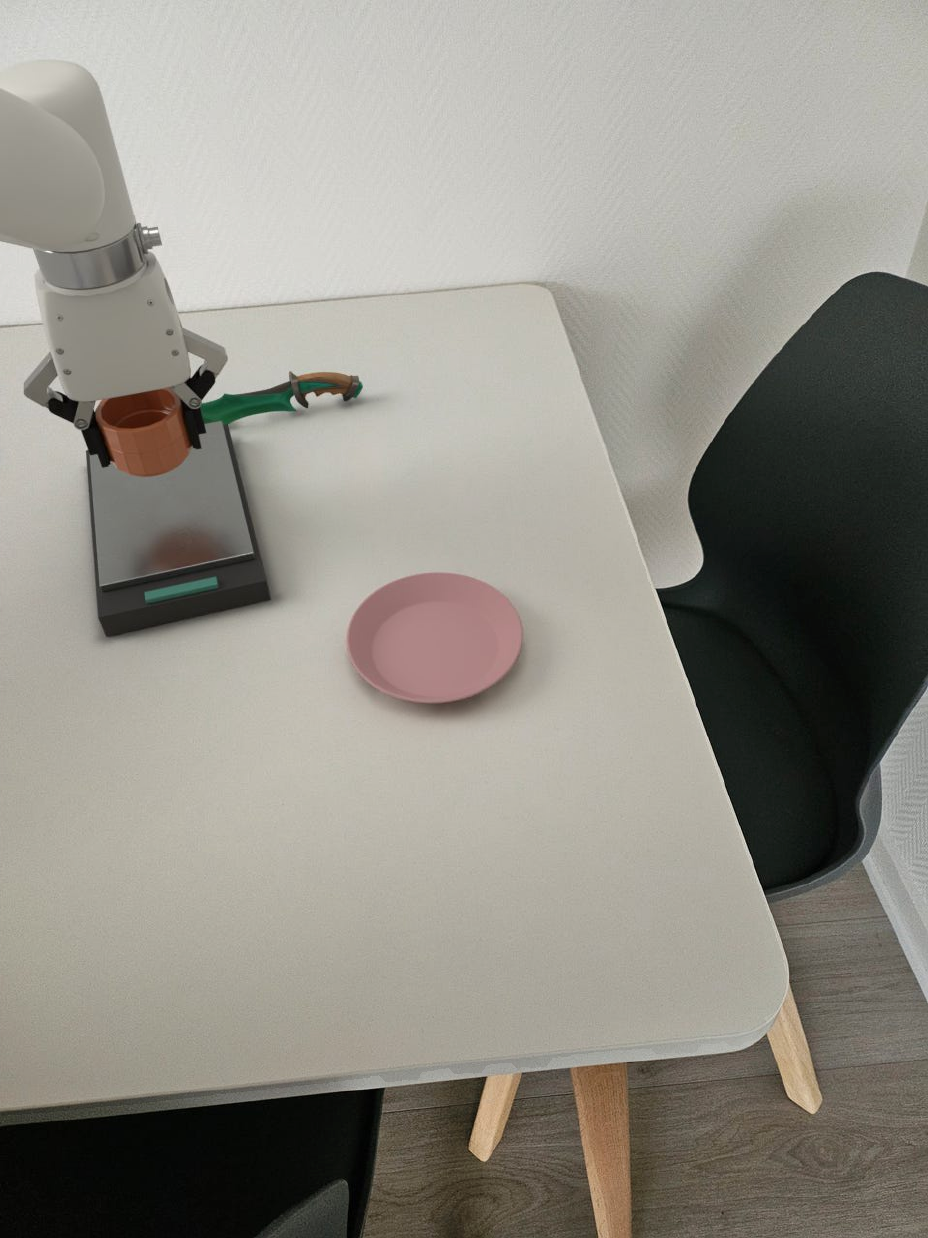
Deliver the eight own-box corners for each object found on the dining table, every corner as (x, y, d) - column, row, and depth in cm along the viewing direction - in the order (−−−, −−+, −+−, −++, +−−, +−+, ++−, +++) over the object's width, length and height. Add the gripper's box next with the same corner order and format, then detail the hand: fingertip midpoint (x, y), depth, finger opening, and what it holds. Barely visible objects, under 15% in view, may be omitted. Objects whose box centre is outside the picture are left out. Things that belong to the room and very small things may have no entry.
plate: (319, 690, 78) (316, 674, 77) (390, 572, 88) (388, 556, 86) (489, 738, 75) (489, 722, 73) (544, 610, 84) (544, 594, 83)
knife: (361, 394, 107) (357, 354, 103) (365, 403, 106) (361, 362, 102) (163, 434, 103) (151, 393, 99) (165, 444, 101) (153, 403, 98)
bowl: (114, 487, 83) (97, 438, 79) (109, 440, 88) (93, 392, 84) (198, 470, 84) (185, 422, 81) (189, 424, 89) (176, 376, 85)
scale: (106, 637, 83) (95, 610, 81) (92, 469, 99) (83, 443, 96) (271, 599, 86) (264, 573, 83) (232, 442, 101) (226, 416, 99)
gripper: (203, 214, 77) (244, 406, 90) (-32, 249, 73) (46, 443, 86) (215, 257, 72) (257, 454, 85) (-36, 297, 68) (48, 495, 81)
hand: (150, 447), depth 85 cm, fingers closed on bowl, 7 cm apart
